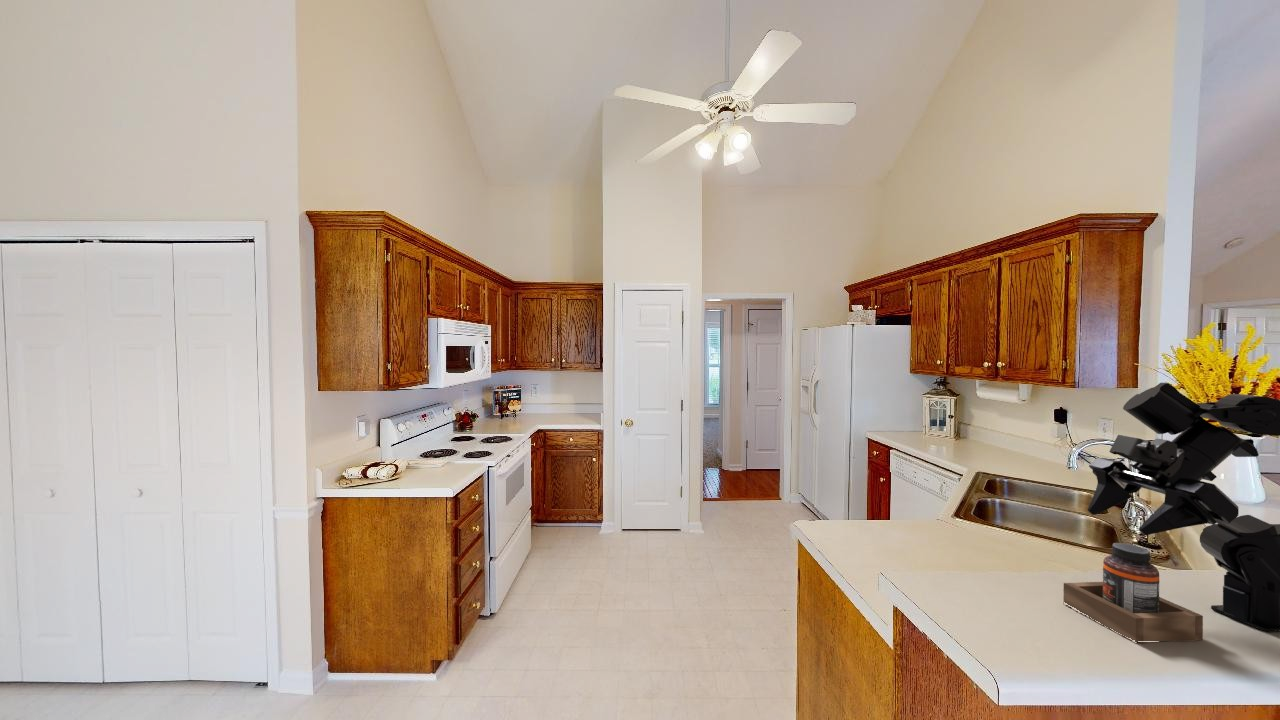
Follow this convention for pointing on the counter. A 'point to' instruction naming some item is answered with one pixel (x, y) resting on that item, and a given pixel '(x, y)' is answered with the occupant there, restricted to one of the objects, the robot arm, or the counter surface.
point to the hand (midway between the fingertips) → (1114, 522)
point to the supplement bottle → (1131, 579)
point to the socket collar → (1135, 616)
